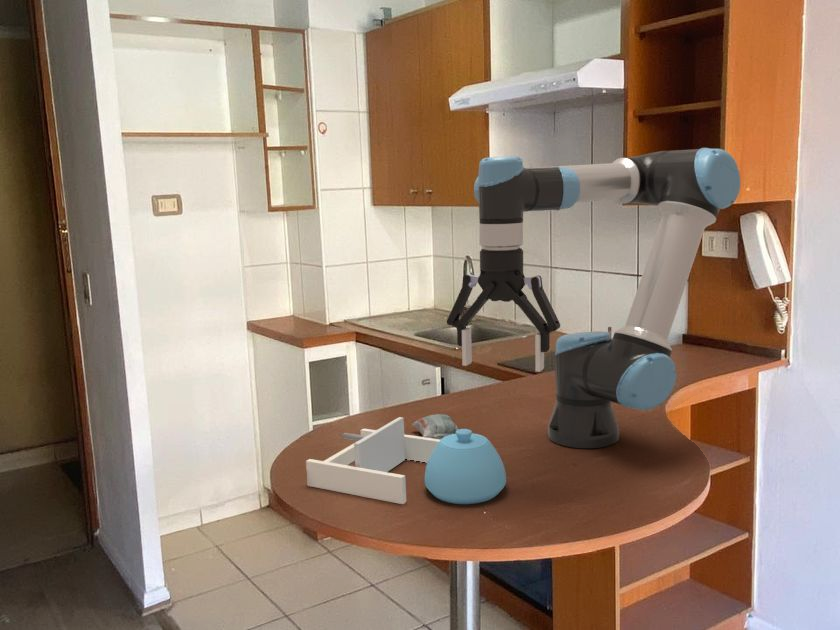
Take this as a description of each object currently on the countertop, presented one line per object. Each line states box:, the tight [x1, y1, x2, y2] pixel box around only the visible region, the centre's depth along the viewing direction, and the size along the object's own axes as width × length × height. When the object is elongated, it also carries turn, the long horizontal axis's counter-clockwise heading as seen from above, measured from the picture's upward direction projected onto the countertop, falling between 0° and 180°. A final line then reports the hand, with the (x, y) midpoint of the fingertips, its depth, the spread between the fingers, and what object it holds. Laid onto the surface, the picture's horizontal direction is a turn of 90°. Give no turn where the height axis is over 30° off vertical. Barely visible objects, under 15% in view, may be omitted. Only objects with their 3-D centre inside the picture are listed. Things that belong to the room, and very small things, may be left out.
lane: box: [305, 428, 440, 505], centre depth 151 cm, size 21×20×5 cm
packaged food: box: [412, 413, 459, 440], centre depth 171 cm, size 9×12×5 cm
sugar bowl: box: [424, 428, 507, 505], centre depth 142 cm, size 15×15×12 cm
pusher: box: [341, 416, 406, 473], centre depth 152 cm, size 9×17×9 cm, turn 152°
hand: (502, 367), depth 137 cm, fingers open, 13 cm apart
